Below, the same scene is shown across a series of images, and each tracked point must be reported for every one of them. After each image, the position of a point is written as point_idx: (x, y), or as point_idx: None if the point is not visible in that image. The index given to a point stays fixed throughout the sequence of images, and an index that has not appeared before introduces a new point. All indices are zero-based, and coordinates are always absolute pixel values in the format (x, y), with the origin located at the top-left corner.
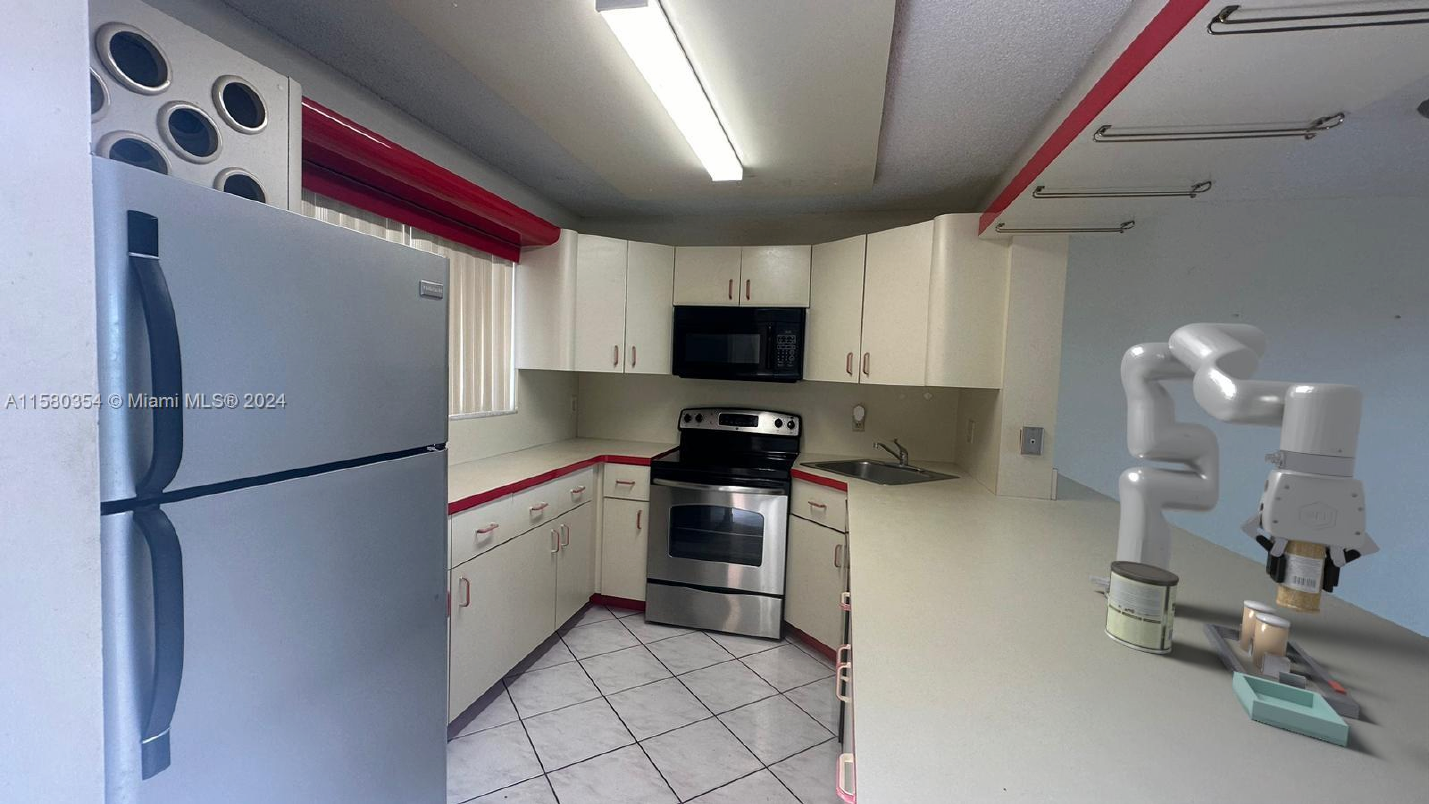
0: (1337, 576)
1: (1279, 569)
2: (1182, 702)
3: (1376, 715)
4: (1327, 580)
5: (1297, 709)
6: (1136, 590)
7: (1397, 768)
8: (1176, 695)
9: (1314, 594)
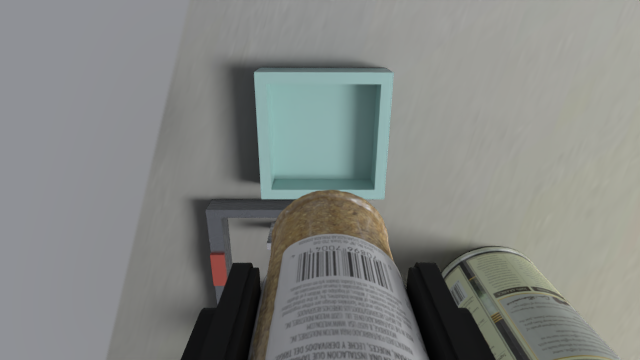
0: (193, 344)
1: (455, 310)
2: (492, 54)
3: (181, 236)
4: (245, 301)
5: (300, 152)
6: (592, 341)
7: (204, 40)
8: (493, 80)
9: (299, 240)
